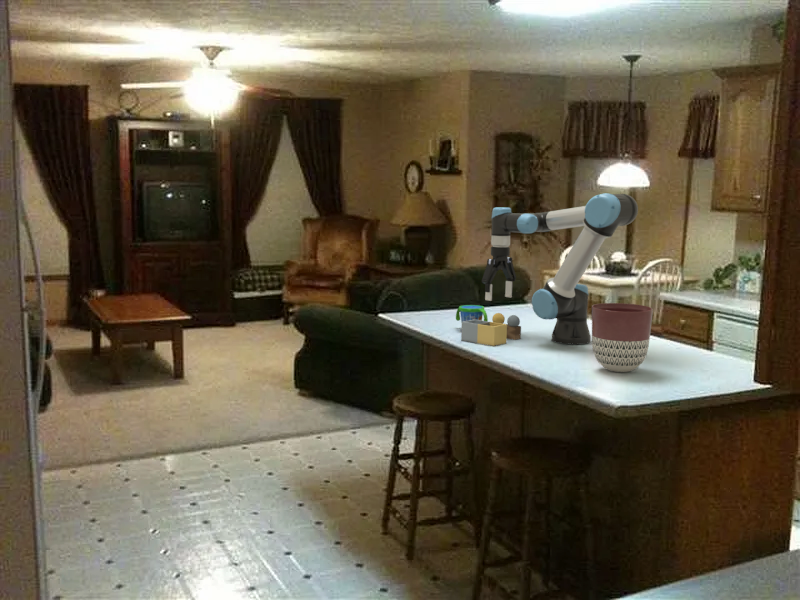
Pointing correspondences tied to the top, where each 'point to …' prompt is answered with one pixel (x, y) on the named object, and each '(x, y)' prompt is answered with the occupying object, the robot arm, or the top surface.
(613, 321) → the planter
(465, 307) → the snack cup
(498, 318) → the ochre ball
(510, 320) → the slate ball
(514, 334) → the rack
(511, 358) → the top surface
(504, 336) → the tube block
